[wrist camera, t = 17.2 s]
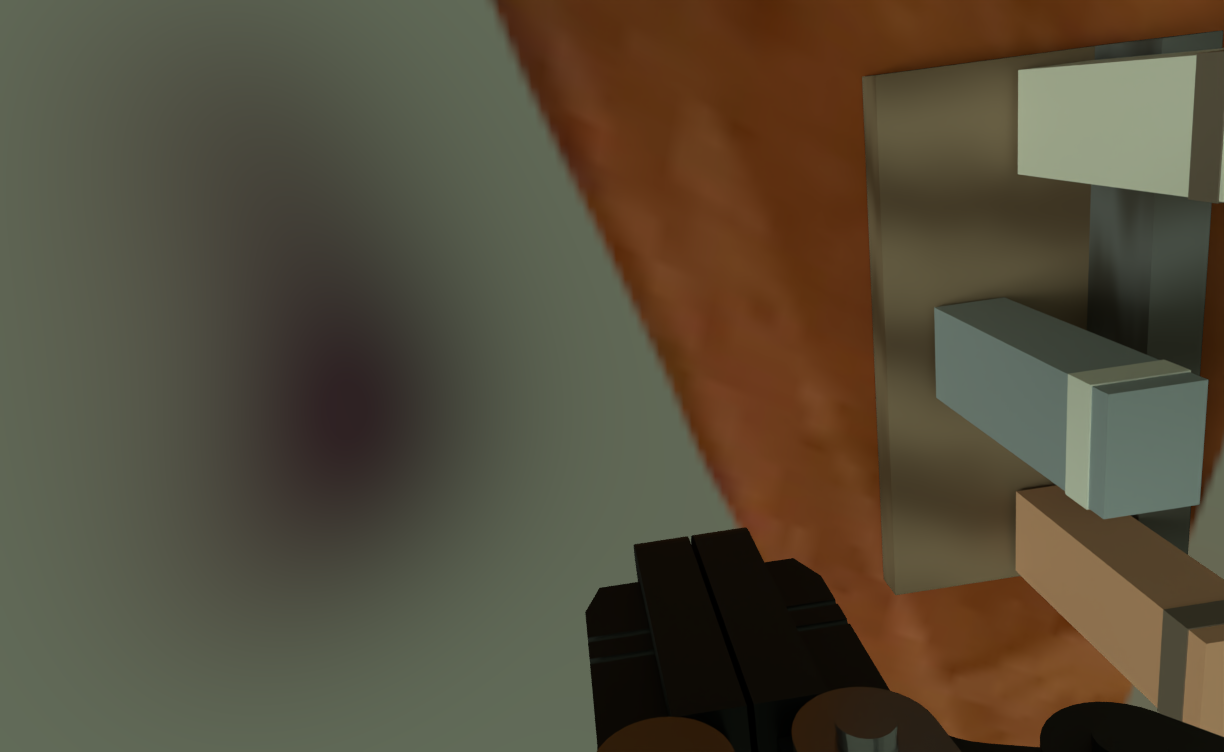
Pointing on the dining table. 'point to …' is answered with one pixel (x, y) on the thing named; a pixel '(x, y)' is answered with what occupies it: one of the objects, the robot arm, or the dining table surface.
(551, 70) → the dining table surface
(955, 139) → the dark grey block stand
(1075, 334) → the slate key
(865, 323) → the dining table surface
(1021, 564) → the tan tall block
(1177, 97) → the white tall block
